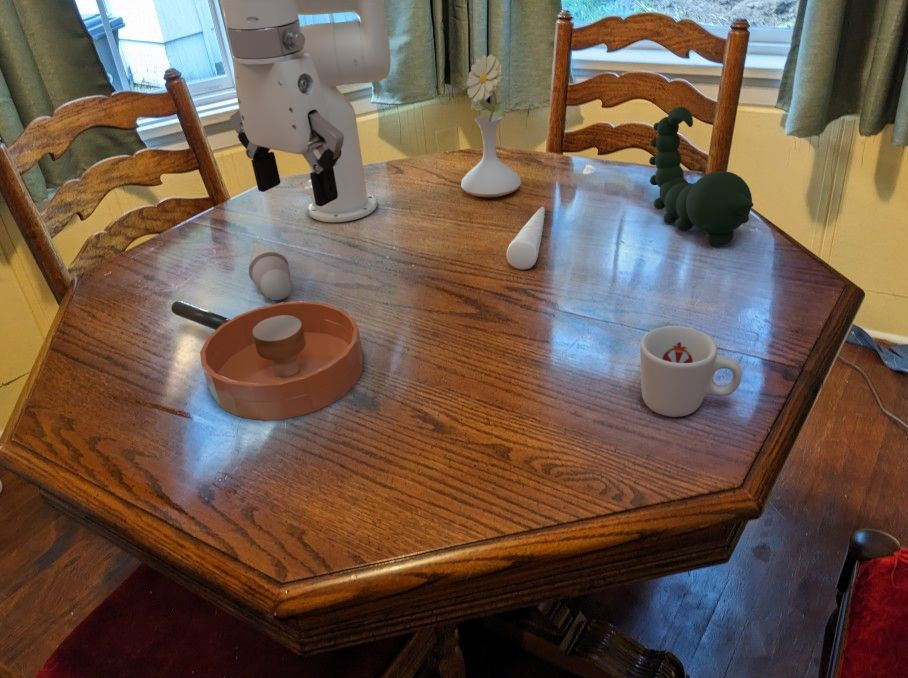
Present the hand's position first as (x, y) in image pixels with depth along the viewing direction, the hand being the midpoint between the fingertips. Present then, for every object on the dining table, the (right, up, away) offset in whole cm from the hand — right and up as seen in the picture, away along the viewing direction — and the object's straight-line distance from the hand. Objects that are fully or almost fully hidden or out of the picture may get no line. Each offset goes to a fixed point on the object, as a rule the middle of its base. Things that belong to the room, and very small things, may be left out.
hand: (297, 194), depth 88 cm
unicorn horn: (+31, 0, +33) cm, 45 cm away
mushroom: (-2, -21, +5) cm, 22 cm away
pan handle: (-15, -15, +11) cm, 24 cm away
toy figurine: (+58, +2, +32) cm, 66 cm away
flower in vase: (+26, +13, +51) cm, 58 cm away
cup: (+45, -25, -5) cm, 52 cm away
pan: (-2, -21, +5) cm, 22 cm away
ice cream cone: (-10, -8, +26) cm, 29 cm away
